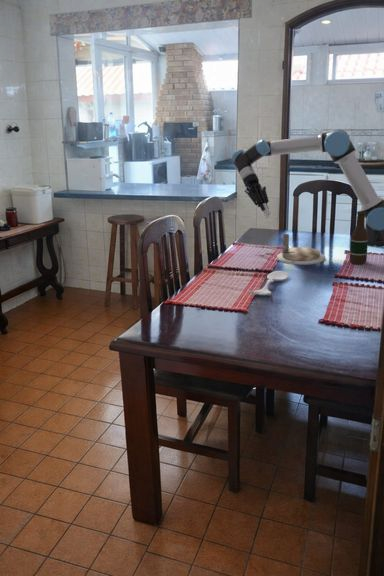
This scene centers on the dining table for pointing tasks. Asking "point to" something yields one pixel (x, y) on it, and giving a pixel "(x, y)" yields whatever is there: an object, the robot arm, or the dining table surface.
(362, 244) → the beer bottle
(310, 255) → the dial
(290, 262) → the white plate
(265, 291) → the spoon
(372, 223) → the robot arm
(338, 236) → the dining table surface
